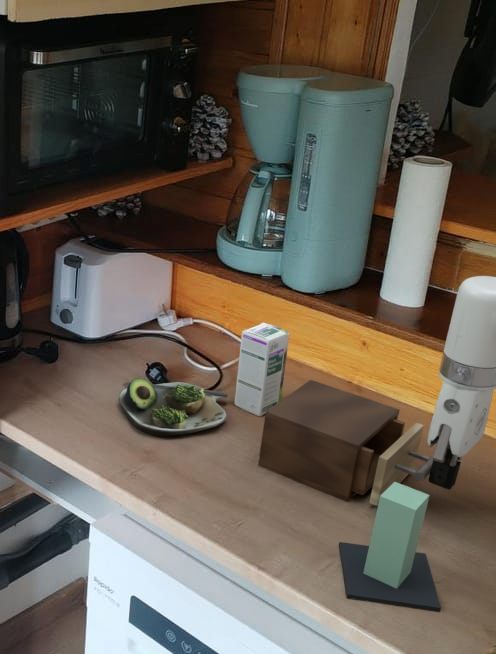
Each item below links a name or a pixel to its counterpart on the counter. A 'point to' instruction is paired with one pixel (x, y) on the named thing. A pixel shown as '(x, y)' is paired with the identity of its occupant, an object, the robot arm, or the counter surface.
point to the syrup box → (261, 368)
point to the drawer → (389, 459)
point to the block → (395, 534)
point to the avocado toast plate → (170, 407)
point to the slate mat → (363, 587)
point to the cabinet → (321, 436)
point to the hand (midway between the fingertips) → (441, 483)
